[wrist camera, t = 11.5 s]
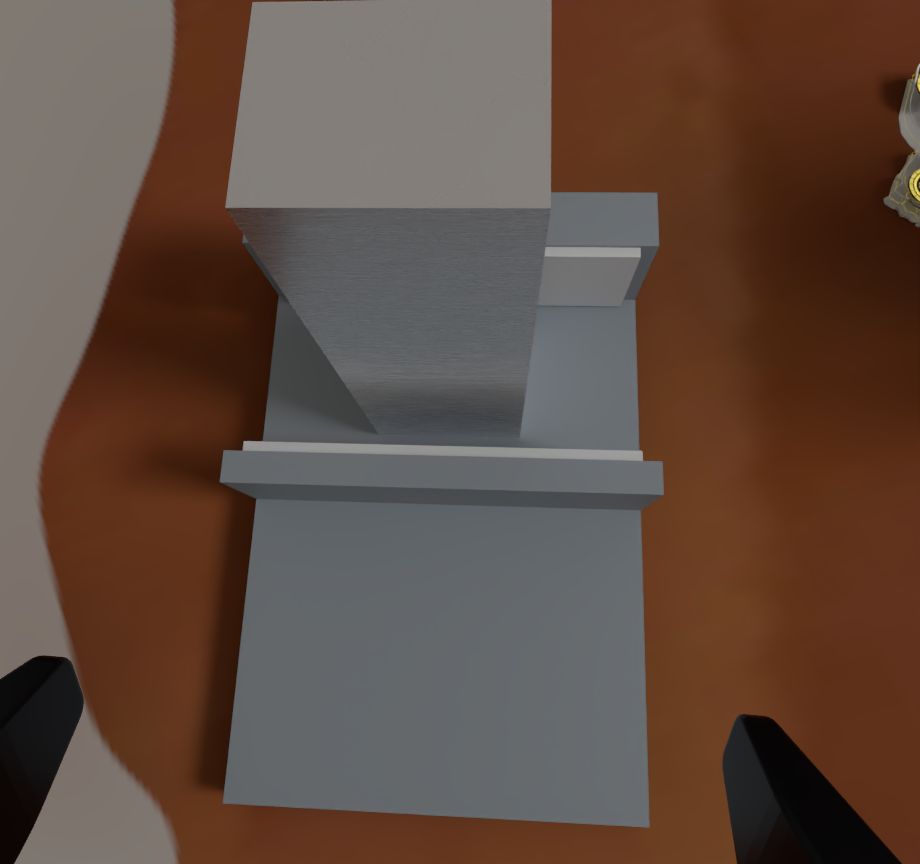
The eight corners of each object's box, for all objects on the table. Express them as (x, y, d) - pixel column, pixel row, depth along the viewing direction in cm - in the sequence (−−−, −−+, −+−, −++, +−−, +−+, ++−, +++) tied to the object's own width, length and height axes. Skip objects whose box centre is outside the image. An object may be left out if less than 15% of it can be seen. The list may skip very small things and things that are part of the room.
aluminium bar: (519, 437, 22) (550, 207, 9) (379, 435, 22) (225, 207, 10) (521, 334, 23) (550, -3, 10) (385, 332, 23) (252, 2, 10)
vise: (641, 816, 20) (682, 874, 16) (235, 794, 21) (165, 843, 16) (628, 253, 24) (656, 175, 20) (293, 250, 25) (251, 175, 21)
